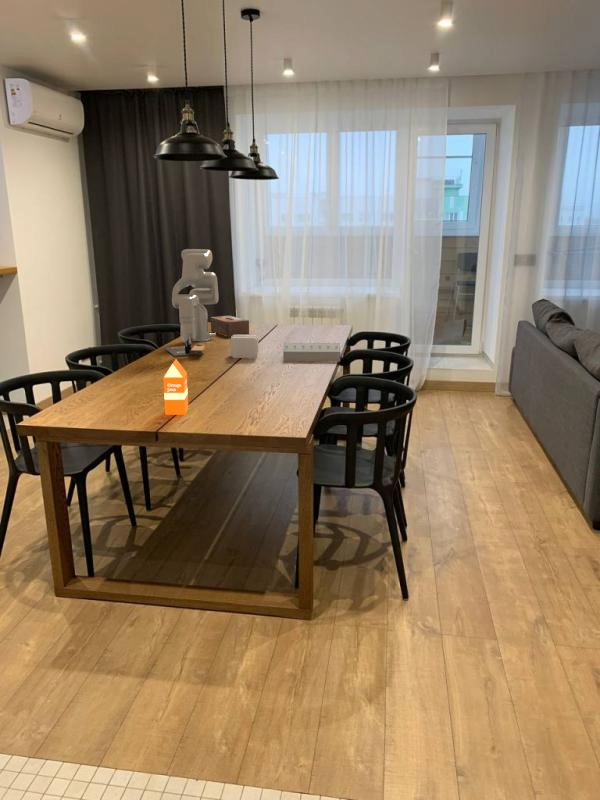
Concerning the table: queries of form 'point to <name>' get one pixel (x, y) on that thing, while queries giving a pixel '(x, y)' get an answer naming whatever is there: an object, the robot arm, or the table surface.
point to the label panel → (179, 351)
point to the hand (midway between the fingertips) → (188, 353)
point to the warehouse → (311, 352)
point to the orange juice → (175, 390)
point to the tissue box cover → (230, 325)
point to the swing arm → (197, 349)
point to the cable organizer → (244, 346)
